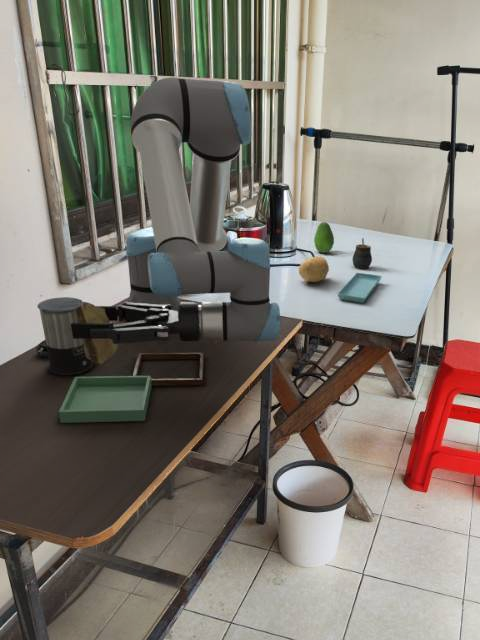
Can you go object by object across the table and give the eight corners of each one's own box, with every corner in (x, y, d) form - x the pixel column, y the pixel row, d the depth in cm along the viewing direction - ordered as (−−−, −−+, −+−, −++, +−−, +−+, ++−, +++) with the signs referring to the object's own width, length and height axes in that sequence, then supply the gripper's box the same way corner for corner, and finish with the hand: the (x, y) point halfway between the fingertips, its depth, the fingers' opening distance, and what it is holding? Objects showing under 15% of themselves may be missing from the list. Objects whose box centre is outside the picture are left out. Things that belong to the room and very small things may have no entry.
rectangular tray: (364, 304, 184) (365, 296, 182) (336, 300, 186) (337, 292, 184) (381, 283, 206) (382, 275, 204) (356, 279, 208) (356, 272, 206)
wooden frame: (139, 358, 138) (138, 352, 138) (203, 357, 141) (203, 352, 140) (131, 386, 126) (131, 380, 125) (202, 385, 128) (202, 379, 127)
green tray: (76, 386, 124) (74, 376, 123) (151, 385, 127) (151, 375, 125) (60, 423, 111) (58, 411, 110) (144, 420, 113) (143, 409, 112)
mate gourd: (354, 270, 218) (357, 242, 213) (349, 264, 225) (351, 237, 220) (373, 270, 220) (376, 242, 215) (367, 264, 226) (369, 238, 221)
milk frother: (79, 378, 127) (69, 312, 120) (12, 369, 129) (-2, 304, 122) (110, 354, 140) (103, 293, 132) (49, 346, 142) (38, 285, 134)
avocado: (309, 251, 238) (311, 221, 233) (323, 249, 243) (325, 219, 237) (323, 256, 234) (325, 225, 228) (337, 253, 238) (339, 223, 232)
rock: (105, 325, 120) (61, 331, 112) (122, 297, 115) (77, 301, 107) (133, 367, 119) (90, 376, 111) (151, 341, 113) (107, 348, 106)
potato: (333, 278, 207) (334, 255, 203) (320, 288, 196) (322, 264, 192) (307, 274, 210) (308, 251, 206) (293, 284, 198) (294, 260, 194)
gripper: (199, 362, 107) (68, 363, 103) (201, 321, 125) (90, 321, 121) (198, 322, 103) (61, 322, 99) (199, 286, 121) (84, 285, 118)
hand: (77, 321), depth 110 cm, fingers closed on rock, 9 cm apart
